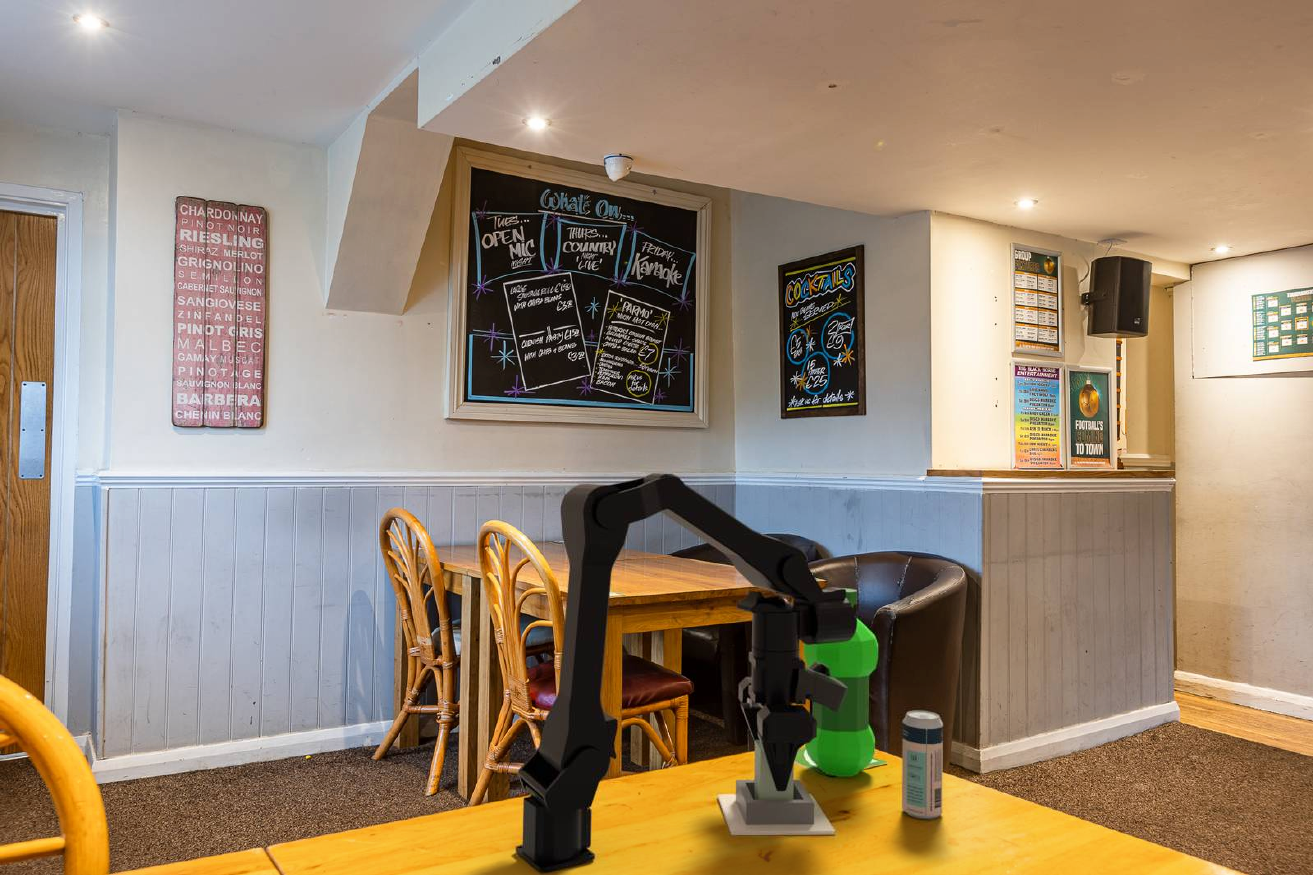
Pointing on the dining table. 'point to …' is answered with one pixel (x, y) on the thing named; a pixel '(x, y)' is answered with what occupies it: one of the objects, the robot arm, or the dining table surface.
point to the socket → (773, 813)
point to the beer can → (922, 764)
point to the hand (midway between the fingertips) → (773, 777)
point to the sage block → (768, 779)
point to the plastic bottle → (845, 703)
